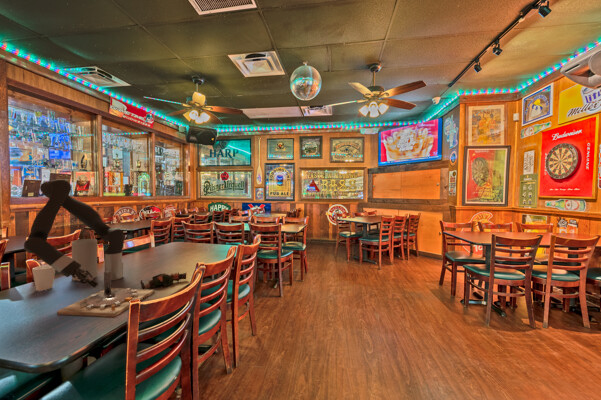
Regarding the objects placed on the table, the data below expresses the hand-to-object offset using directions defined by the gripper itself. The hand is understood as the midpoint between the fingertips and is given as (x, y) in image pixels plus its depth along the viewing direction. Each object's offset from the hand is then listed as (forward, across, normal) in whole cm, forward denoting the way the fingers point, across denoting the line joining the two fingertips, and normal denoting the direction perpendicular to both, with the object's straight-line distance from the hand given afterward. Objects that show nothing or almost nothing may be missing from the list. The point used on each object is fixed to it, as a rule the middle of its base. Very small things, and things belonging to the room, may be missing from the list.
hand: (96, 285), depth 130 cm
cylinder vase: (-6, +42, +16) cm, 45 cm away
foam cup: (-17, +28, +27) cm, 42 cm away
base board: (+10, -9, -1) cm, 14 cm away
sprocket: (+9, -9, -2) cm, 13 cm away
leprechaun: (+27, +8, -17) cm, 33 cm away
